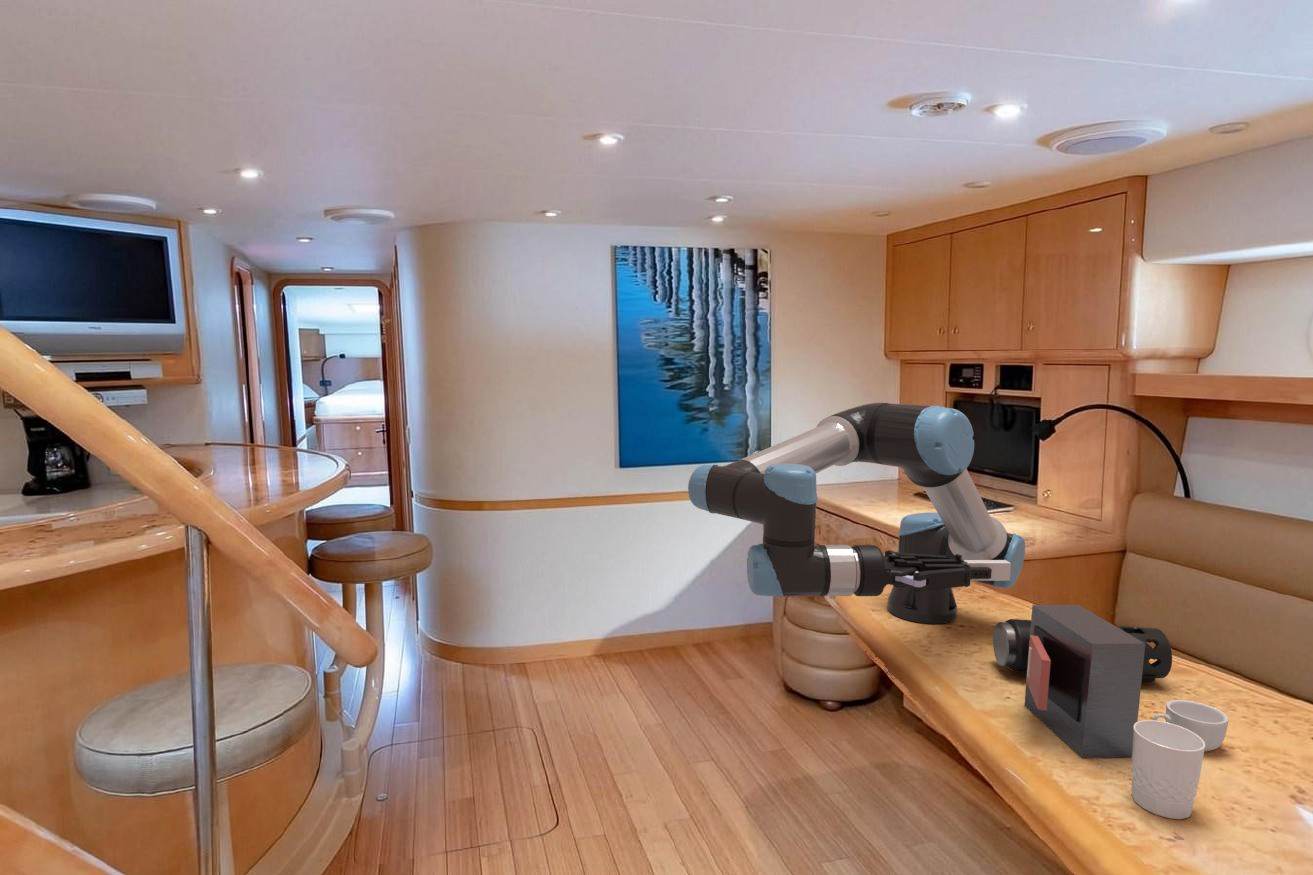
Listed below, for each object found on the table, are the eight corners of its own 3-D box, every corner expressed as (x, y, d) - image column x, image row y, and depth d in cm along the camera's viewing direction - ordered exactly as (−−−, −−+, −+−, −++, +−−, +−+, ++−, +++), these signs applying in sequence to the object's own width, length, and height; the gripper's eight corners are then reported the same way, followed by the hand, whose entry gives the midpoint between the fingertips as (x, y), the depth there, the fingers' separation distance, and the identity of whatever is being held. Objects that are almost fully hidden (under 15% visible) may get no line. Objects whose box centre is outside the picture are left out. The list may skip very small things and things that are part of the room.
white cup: (1113, 787, 102) (1119, 720, 101) (1165, 785, 103) (1173, 718, 102) (1156, 824, 94) (1163, 752, 93) (1212, 821, 95) (1221, 749, 94)
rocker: (1024, 680, 121) (1028, 634, 120) (1034, 682, 121) (1038, 635, 120) (1036, 709, 112) (1040, 659, 111) (1046, 710, 112) (1050, 660, 110)
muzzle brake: (1170, 693, 131) (1176, 638, 129) (1006, 683, 134) (1010, 629, 132) (1141, 670, 140) (1146, 618, 139) (989, 661, 143) (993, 610, 142)
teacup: (1206, 733, 117) (1209, 701, 116) (1236, 759, 110) (1240, 726, 109) (1138, 727, 119) (1141, 696, 118) (1163, 753, 111) (1167, 720, 110)
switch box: (1022, 705, 125) (1030, 605, 123) (1069, 705, 126) (1078, 604, 123) (1080, 758, 109) (1090, 643, 107) (1133, 757, 110) (1145, 643, 107)
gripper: (838, 580, 115) (984, 580, 116) (865, 610, 102) (1029, 610, 103) (840, 534, 114) (987, 534, 115) (868, 558, 101) (1033, 558, 102)
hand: (1007, 570), depth 109 cm, fingers closed
